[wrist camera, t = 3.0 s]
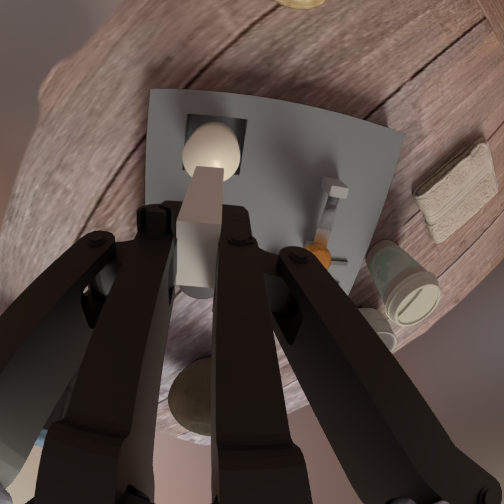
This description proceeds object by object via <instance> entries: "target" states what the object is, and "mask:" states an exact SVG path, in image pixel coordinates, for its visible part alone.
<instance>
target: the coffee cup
mask: <svg viewBox="0 0 504 504" xmlns="http://www.w3.org/2000/svg"><path fill="white" fill-rule="evenodd" d="M366 263H367V266H368V268H369V270H370V273H371V275H372V277H373V279H374V282H375V284H376V286H377V288H378V291H379V293H380V295H381V298H382V300H383V302H384V305H385V313H386V315H387V316H388V317H389V318H390V320H392V321H393V322H395V323H396V324H397V325H399V326H403V327H407V326H412V325H414V324H417V323H419V322H420V321H422V320H423V319H425V318H426V317H427V316H428V315H429V314H430V313H431V312H432V311H433V310H434V309H435V307H436V306H437V304H438V302H439V299H440V295H441V292H440V288H439V284H438V281H437V279H436V277H435V275H434V274H433V273H431V272H428V271H427V270H426V269H424V268H423V267H422V266H421V265H420V264H419V263H418V262H417V261H415V260H414V259H413V258H412V257H411V256H410V255H409V254H407V253H406V252H405V251H404V250H403V249H402V248H400V247H399V246H398V245H397V244H396V243H394V242H393V241H391V240H383V241H380V242H378V243H376V244H375V245H374V246H373V247H372V248H371V249H370V250H369V252H368V254H367V257H366Z"/></svg>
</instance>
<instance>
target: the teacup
mask: <svg viewBox="0 0 504 504" xmlns="http://www.w3.org/2000/svg"><path fill="white" fill-rule="evenodd" d="M358 310H359V311H360V312H361V313H362V315H363V316H364V317H365V319H366V320H367V321H368V323H369V324H370V325H371V326H372V328H373V329H374V330H375V332H376V333H377V334H378V336H379V337H380V338H381V340H382V341H383V342H384V344H385V345H386V346H387V348H388V349H389V351H390V352H392V351H393V349H394V348H395V346H396V343H397V338H396V336H395V335H394V333H393V331H392V329H391V327H390V325H389V323H388V321H387V319H386V317H385V316H384V315H383V314H382V313H381V312H380V311H379V310H377V309H374V308H358Z"/></svg>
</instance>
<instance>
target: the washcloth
mask: <svg viewBox="0 0 504 504" xmlns="http://www.w3.org/2000/svg"><path fill="white" fill-rule="evenodd" d="M497 187H498V181H497V180H496V176H495V172H494V166H493V161H492V156H491V152H490V148H489V144H488V141H484V138H483V137H480V138H478V140H476V141H472V144H471V143H470V144H469V145H467V146H466V147H464V148H463V149H462V150H461V151H460V152H459V153H457V154H456V155H455V156H454V157H453V158H452V159H450V160H449V161H448V162H447V163H446V164H445V165H443V166H442V167H441V168H440V169H439V170H438V171H436V172H435V173H434V174H433V175H432V176H431V177H429V178H428V179H427V180H425V181H424V182H423V183H422V184H420V185H419V186H418V187H417V188H416V189H415V190H414V193H413V196H414V199H415V201H416V203H417V205H418V207H419V208H420V210H421V212H423V215H424V217H425V220H426V225H427V228H428V230H429V232H430V235H431V237H432V239H433V241H434V243H437V244H438V243H441V242H443V241H444V240H445V239H447V238H448V237H449V236H450V235H451V234H453V232H454V231H455V230H457V229H458V228H459V227H461V226H462V225H463V224H464V223H465V222H467V221H468V220H469V219H470V218H471V217H472V216H474V215H475V213H477V212H478V211H479V210H480V208H481V207H483V206H484V205H485V204H486V203H487V202H488V201H489V200H490V199H492V198H493V196H495V195H496V193H497Z"/></svg>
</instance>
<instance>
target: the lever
mask: <svg viewBox="0 0 504 504" xmlns="http://www.w3.org/2000/svg"><path fill="white" fill-rule="evenodd" d="M338 201H339V198H337V197H331V196H328V199H327V202H326V205H325V208H324V211H323V214H322V216H321V219H320V222H319V225H318V228H317V231H316V235H315V238H314V242H313V243H310V244H308V245H306V246H305V247H304V248H305V249H307V250H309V251H311V252H312V253H313V254H314V255H315V256H316V257H317V258H318V259H319V261H320V262H321V263H322V264H323V266H324V267H325V268H326V269H327V270H328V269H329V267H330V265H331V261H332V257H331V253H330V251H329V249H328V248H327V244H328V240H329V237H330V234H331V231H332V226H333V222H334V218H335V213H336V209H337V204H338Z"/></svg>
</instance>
